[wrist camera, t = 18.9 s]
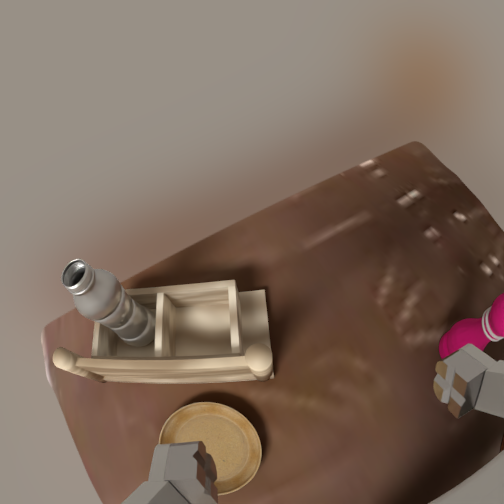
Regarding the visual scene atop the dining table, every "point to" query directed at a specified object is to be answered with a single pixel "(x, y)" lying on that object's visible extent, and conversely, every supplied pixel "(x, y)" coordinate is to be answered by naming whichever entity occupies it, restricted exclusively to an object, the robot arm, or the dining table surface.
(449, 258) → the dining table surface
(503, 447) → the brown flower pot
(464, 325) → the magenta pepper grinder
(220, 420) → the plant saucer
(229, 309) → the wooden compartment rack
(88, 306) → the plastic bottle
